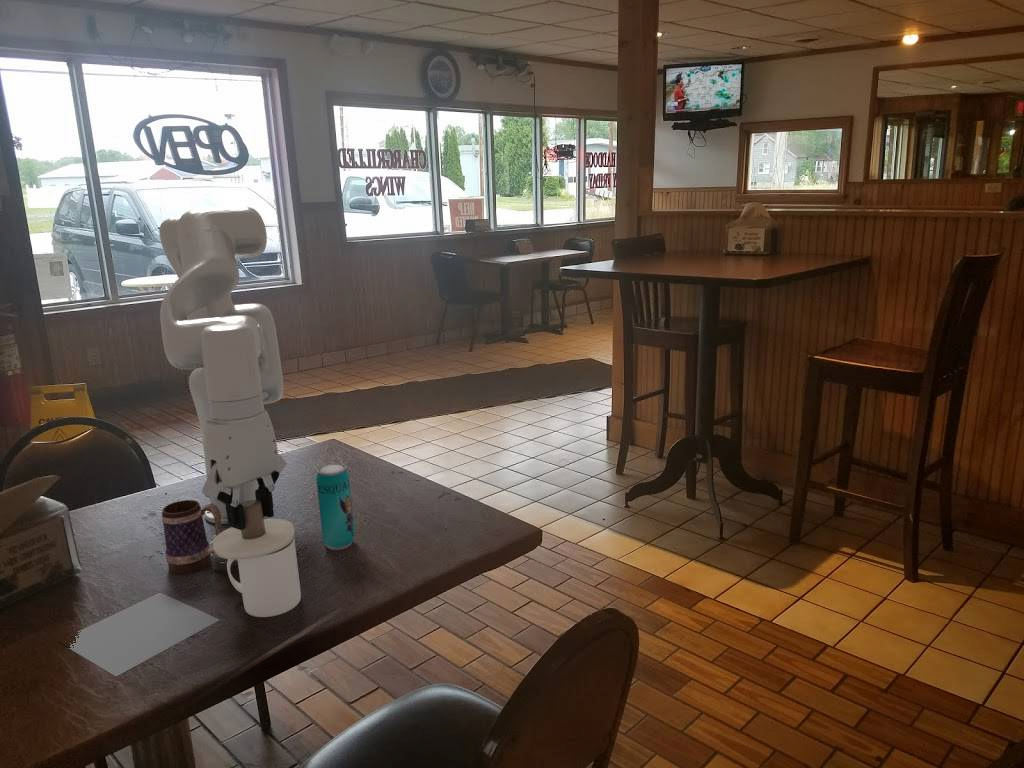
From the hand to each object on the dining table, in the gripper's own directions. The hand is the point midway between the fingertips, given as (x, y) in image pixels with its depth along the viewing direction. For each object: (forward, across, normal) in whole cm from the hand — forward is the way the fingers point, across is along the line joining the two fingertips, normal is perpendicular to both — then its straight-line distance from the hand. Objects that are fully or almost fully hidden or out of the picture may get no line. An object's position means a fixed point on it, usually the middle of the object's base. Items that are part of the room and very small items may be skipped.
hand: (251, 520), depth 114 cm
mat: (+14, +15, -9) cm, 23 cm away
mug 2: (+15, 0, 0) cm, 15 cm away
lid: (+4, 0, 0) cm, 4 cm away
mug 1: (+15, -2, -20) cm, 25 cm away
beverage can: (+15, -21, -5) cm, 26 cm away
